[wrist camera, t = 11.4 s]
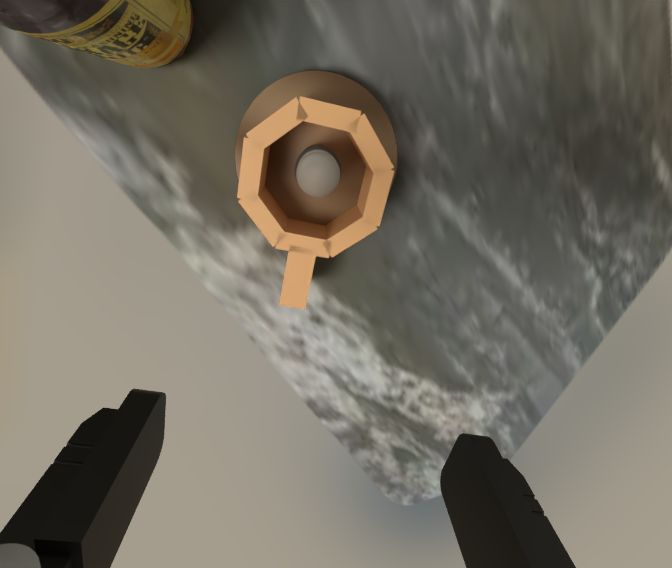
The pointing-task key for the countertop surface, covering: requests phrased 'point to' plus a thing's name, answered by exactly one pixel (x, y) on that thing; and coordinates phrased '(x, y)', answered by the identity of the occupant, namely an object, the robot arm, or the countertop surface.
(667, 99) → the countertop surface
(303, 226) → the ring
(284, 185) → the round wooden base
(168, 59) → the sauce bottle
